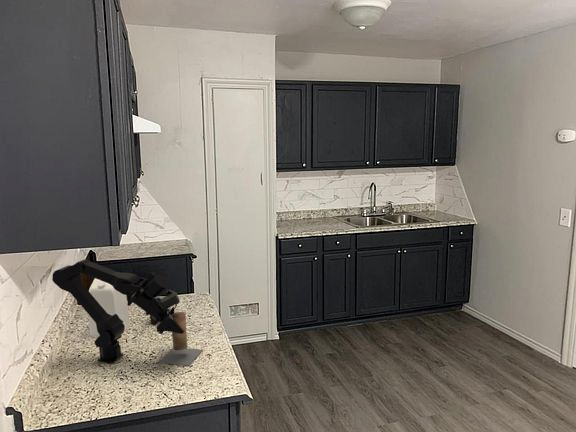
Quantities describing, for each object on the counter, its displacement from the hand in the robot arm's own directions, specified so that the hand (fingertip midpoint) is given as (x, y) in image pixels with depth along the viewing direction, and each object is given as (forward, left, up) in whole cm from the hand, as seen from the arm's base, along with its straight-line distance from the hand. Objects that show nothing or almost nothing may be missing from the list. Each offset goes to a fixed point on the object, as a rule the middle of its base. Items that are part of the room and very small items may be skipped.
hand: (183, 329), depth 162 cm
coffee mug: (-24, +27, -10) cm, 38 cm away
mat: (-1, -1, -10) cm, 10 cm away
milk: (-41, +15, -10) cm, 45 cm away
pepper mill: (-1, -1, -7) cm, 7 cm away
